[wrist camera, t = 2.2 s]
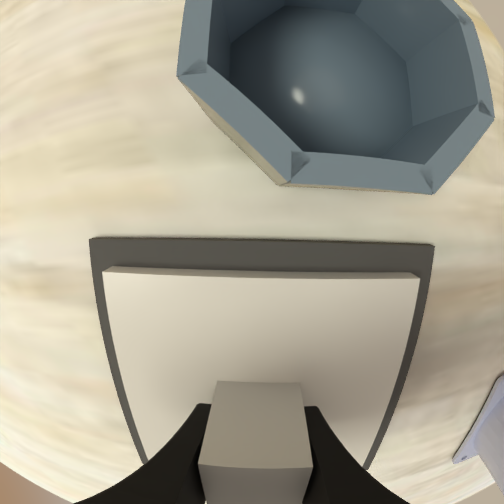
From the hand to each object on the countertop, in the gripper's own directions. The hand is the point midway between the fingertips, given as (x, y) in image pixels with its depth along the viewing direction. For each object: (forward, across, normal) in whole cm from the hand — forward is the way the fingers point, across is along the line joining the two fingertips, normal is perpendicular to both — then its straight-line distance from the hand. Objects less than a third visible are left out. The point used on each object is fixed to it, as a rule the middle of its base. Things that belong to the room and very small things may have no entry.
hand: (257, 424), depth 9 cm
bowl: (+2, -2, -12) cm, 12 cm away
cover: (+2, 0, 0) cm, 2 cm away
